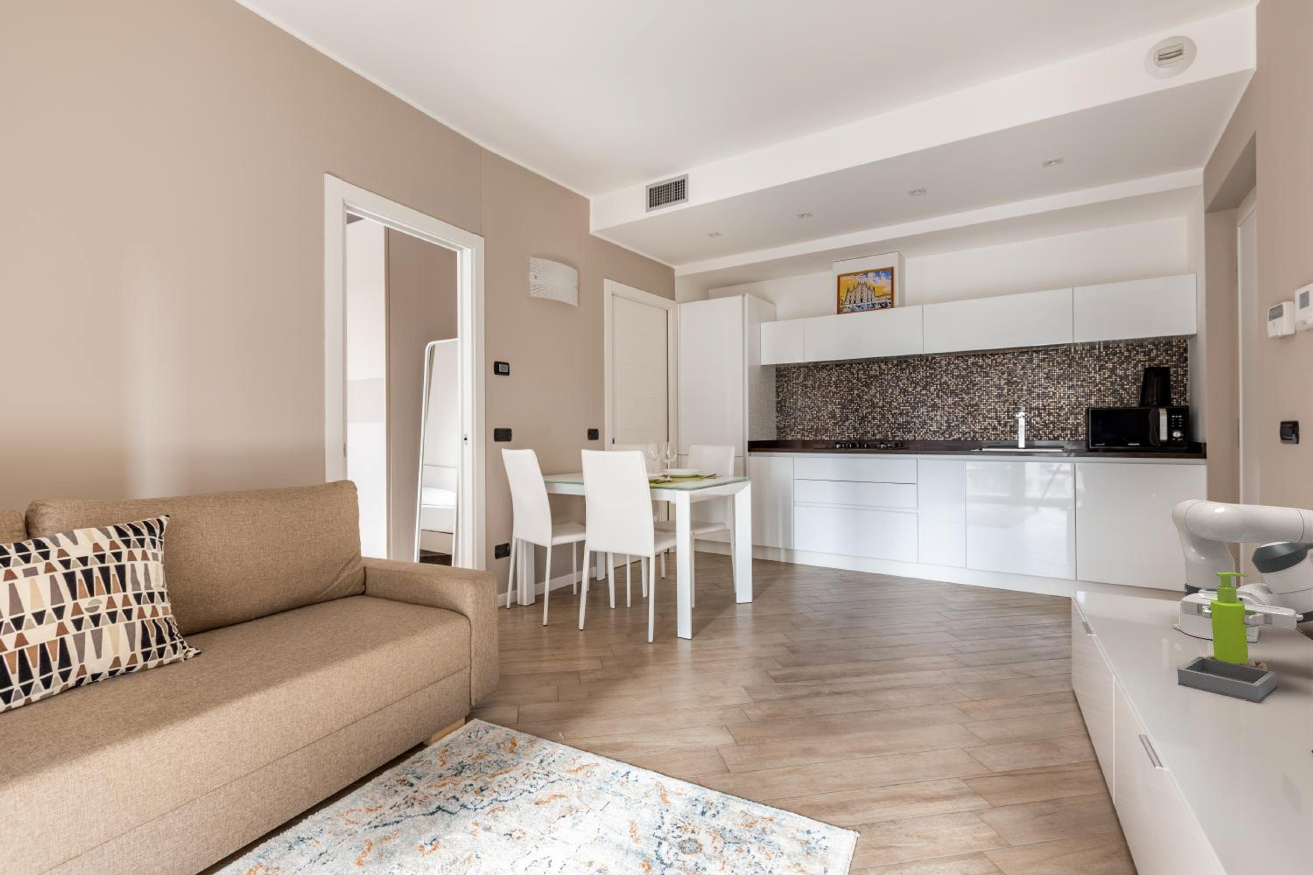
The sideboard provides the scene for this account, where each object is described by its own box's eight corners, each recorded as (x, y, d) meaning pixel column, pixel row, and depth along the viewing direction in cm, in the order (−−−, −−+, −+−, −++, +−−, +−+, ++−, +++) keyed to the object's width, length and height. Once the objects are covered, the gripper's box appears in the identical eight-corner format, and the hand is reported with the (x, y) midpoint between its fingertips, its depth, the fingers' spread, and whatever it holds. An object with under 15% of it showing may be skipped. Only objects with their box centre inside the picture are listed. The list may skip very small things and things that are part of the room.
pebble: (1241, 667, 156) (1241, 655, 156) (1258, 671, 153) (1257, 658, 153) (1237, 670, 154) (1237, 658, 154) (1254, 673, 151) (1253, 661, 151)
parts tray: (1214, 662, 161) (1213, 653, 161) (1267, 673, 153) (1266, 663, 153) (1202, 669, 157) (1202, 659, 157) (1256, 680, 149) (1256, 670, 149)
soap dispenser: (1260, 663, 142) (1254, 575, 142) (1225, 663, 143) (1219, 575, 144) (1241, 654, 148) (1236, 569, 148) (1208, 654, 149) (1202, 570, 149)
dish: (1199, 671, 156) (1199, 656, 156) (1277, 687, 144) (1276, 671, 144) (1178, 684, 148) (1177, 668, 148) (1258, 702, 136) (1257, 686, 137)
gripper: (1306, 629, 144) (1290, 641, 137) (1193, 612, 161) (1173, 622, 154) (1305, 602, 144) (1288, 612, 137) (1192, 588, 161) (1172, 596, 154)
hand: (1226, 617), depth 145 cm, fingers closed on soap dispenser, 6 cm apart
